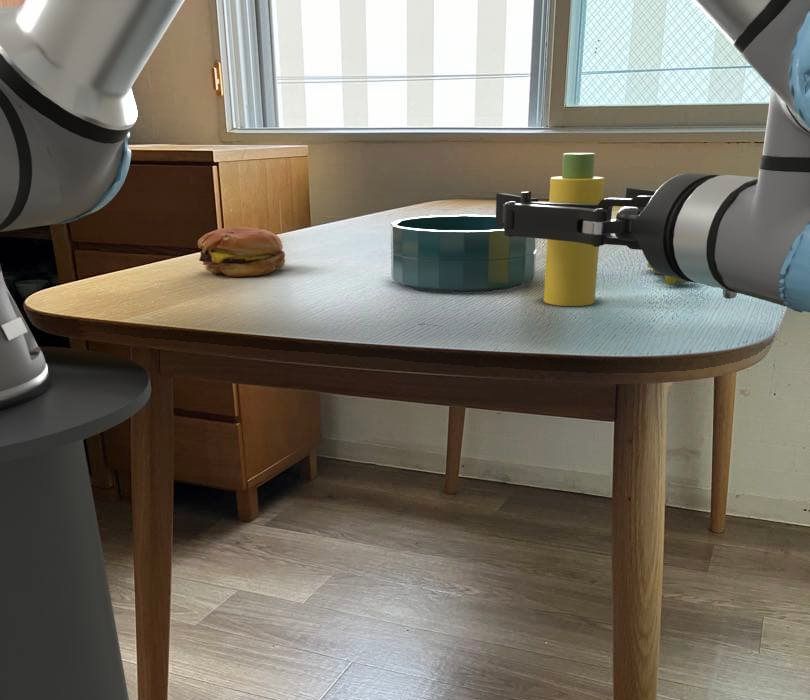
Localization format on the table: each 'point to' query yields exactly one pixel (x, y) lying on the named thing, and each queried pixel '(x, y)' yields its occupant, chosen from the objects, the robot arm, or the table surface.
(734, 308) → the table surface
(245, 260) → the burger
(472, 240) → the teal pet bowl
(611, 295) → the table surface
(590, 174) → the yellow bottle green cap
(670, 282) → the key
